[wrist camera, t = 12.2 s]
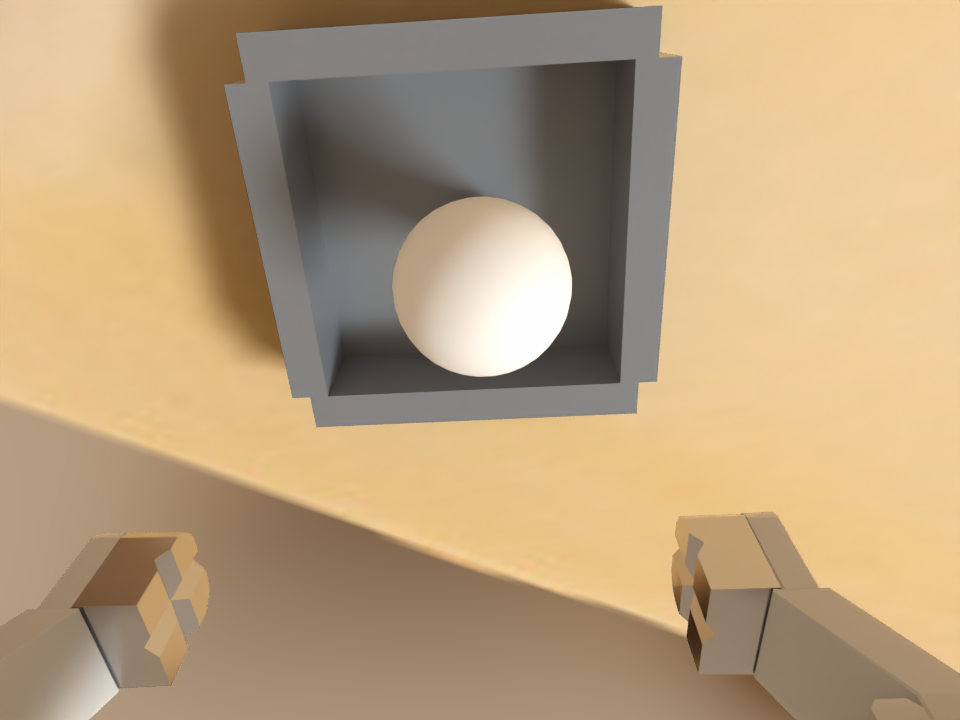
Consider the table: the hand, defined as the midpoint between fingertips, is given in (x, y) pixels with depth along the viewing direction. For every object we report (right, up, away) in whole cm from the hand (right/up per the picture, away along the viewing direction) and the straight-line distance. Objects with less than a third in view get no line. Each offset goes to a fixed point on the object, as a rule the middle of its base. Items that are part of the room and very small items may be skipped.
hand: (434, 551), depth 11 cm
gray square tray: (0, +10, +19) cm, 21 cm away
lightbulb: (+1, +9, +19) cm, 21 cm away
